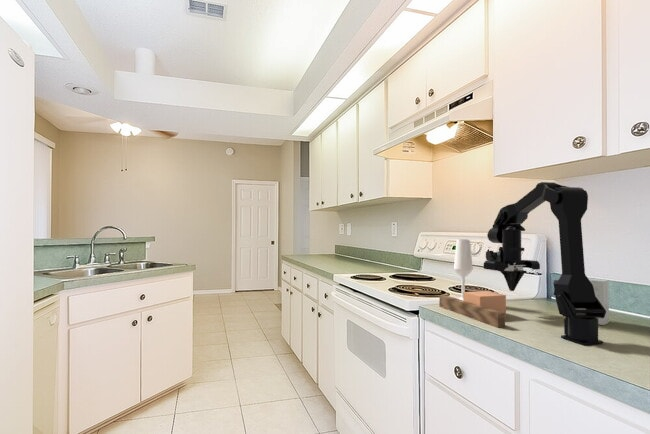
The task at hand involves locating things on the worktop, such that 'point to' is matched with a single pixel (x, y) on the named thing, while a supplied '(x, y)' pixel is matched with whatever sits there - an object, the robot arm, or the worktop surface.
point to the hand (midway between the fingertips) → (511, 290)
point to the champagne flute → (463, 260)
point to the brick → (487, 300)
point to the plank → (473, 311)
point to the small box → (602, 297)
